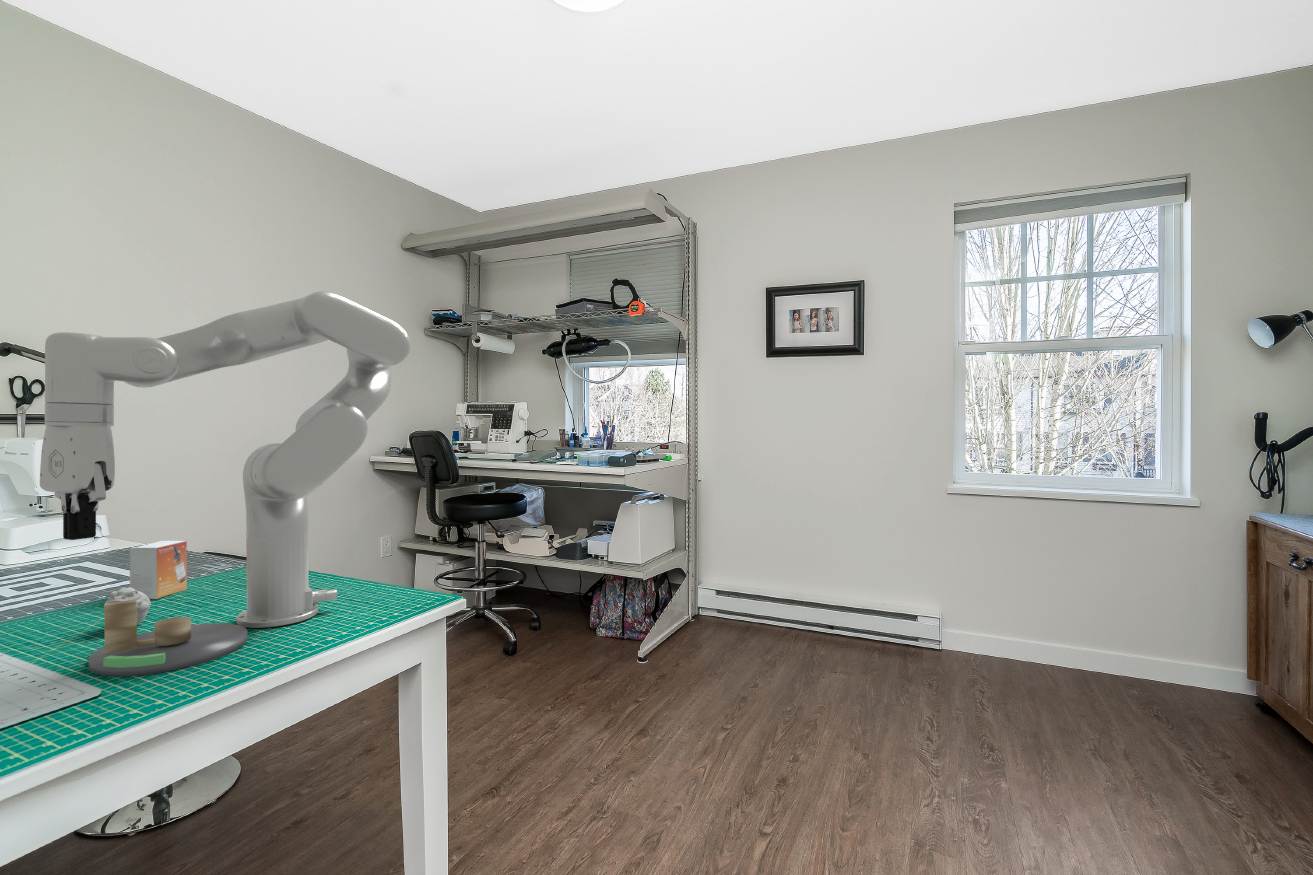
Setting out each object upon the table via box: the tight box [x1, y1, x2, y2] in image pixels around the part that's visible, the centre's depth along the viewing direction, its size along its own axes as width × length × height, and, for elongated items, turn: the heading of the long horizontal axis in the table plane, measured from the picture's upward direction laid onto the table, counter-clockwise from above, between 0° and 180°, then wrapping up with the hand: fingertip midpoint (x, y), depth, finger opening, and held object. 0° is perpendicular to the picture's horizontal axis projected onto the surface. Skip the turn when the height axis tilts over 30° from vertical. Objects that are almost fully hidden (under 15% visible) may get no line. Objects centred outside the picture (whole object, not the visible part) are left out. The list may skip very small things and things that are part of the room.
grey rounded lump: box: [104, 586, 152, 625], centre depth 104 cm, size 6×7×7 cm
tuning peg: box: [103, 599, 192, 654], centre depth 91 cm, size 10×4×7 cm, turn 129°
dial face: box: [88, 622, 248, 677], centre depth 93 cm, size 19×19×2 cm
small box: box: [129, 540, 188, 600], centre depth 125 cm, size 8×6×10 cm
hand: (79, 537), depth 91 cm, fingers closed
